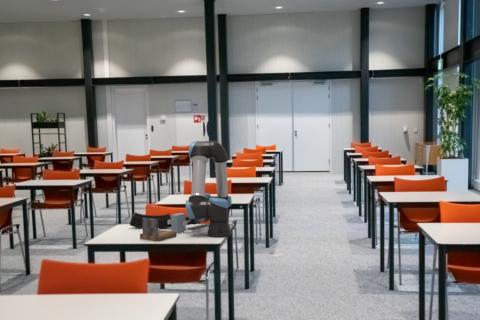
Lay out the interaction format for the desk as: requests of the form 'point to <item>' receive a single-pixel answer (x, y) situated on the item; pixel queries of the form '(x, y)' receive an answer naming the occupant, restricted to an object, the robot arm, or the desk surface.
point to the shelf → (154, 231)
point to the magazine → (162, 219)
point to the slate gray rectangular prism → (178, 222)
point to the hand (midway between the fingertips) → (175, 223)
